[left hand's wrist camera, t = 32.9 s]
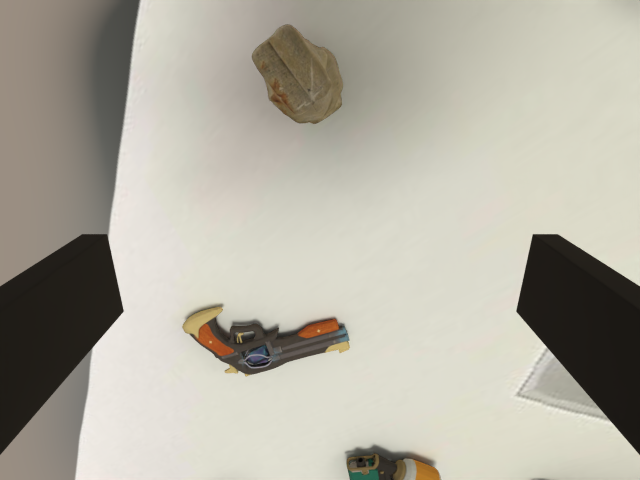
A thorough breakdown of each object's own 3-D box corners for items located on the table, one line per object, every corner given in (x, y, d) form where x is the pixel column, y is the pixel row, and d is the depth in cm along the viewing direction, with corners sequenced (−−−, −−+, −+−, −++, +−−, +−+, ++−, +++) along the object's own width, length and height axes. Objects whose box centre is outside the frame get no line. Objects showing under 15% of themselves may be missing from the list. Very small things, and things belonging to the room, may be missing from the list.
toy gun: (176, 323, 46) (205, 394, 49) (331, 280, 46) (353, 354, 48) (183, 313, 49) (210, 381, 51) (330, 272, 48) (350, 342, 51)
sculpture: (312, 29, 37) (308, -3, 23) (351, 98, 39) (368, 106, 25) (262, 66, 38) (229, 55, 24) (302, 130, 40) (293, 155, 26)
